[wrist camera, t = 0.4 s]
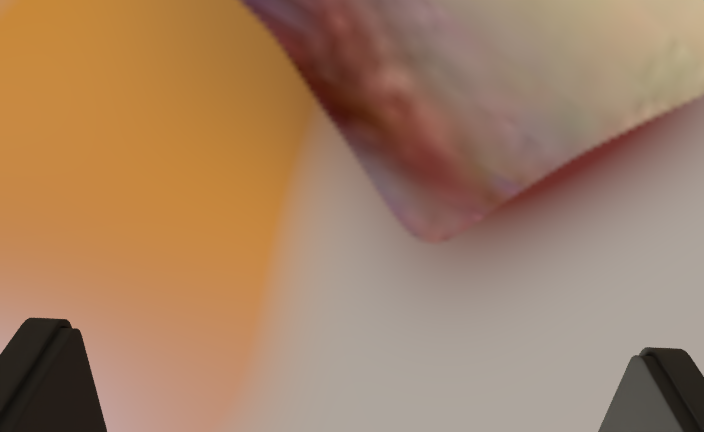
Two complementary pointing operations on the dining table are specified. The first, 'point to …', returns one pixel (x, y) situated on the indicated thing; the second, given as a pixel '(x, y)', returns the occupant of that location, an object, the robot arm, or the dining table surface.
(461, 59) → the dining table surface
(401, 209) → the dining table surface
